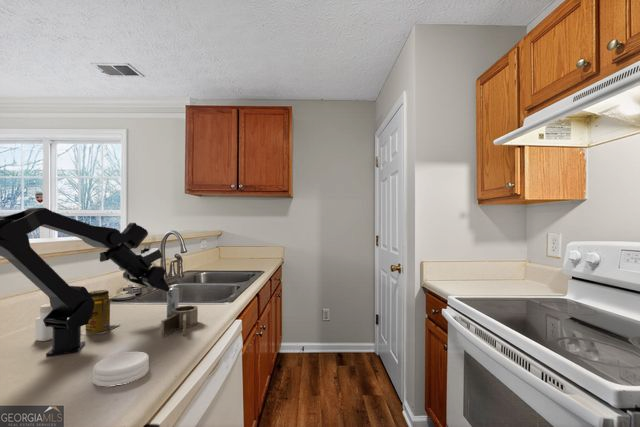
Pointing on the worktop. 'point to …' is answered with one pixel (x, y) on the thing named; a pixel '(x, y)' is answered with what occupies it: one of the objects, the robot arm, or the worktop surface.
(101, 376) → the coaster
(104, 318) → the condiment
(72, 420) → the worktop surface
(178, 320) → the hinge
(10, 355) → the worktop surface
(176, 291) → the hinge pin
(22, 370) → the worktop surface
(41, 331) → the pepper shaker
